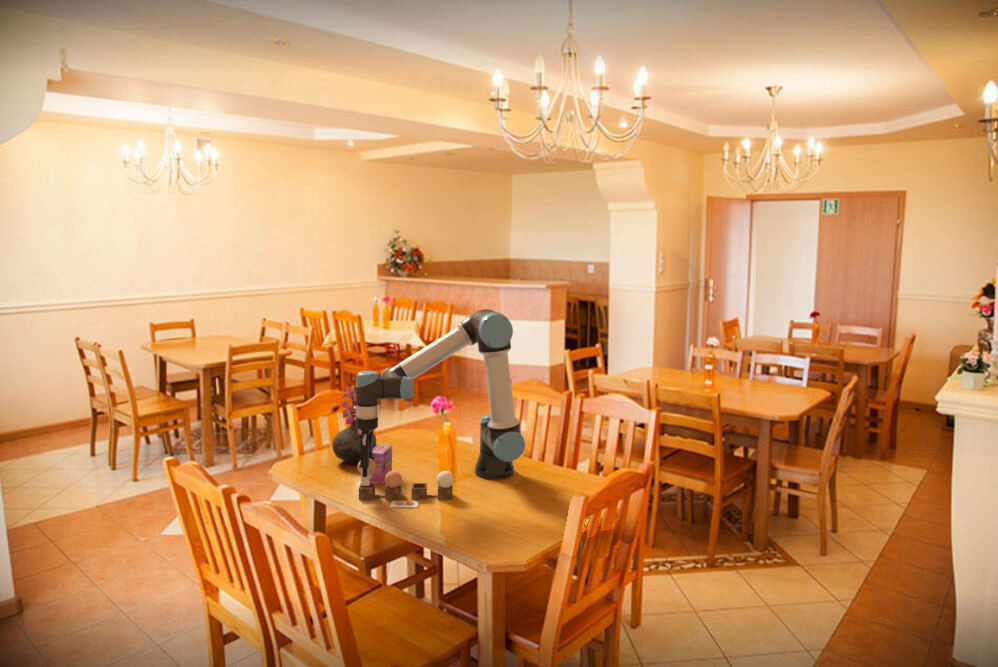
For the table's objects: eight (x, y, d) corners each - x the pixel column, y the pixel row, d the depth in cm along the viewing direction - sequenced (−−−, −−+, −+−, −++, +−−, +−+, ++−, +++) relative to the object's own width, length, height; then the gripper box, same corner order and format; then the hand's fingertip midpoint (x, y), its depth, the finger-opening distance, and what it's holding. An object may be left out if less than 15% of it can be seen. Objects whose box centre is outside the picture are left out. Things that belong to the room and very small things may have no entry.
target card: (418, 501, 224) (418, 500, 224) (417, 507, 219) (417, 506, 219) (391, 501, 223) (391, 500, 223) (390, 507, 219) (390, 506, 218)
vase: (356, 452, 274) (356, 381, 270) (386, 461, 264) (386, 388, 260) (324, 462, 261) (323, 388, 256) (354, 472, 251) (354, 395, 246)
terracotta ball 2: (402, 484, 231) (402, 468, 230) (401, 491, 225) (401, 474, 224) (385, 484, 230) (385, 468, 229) (383, 491, 224) (383, 474, 223)
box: (382, 484, 239) (382, 453, 237) (367, 483, 240) (367, 452, 238) (392, 475, 249) (392, 445, 247) (378, 473, 250) (378, 443, 248)
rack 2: (452, 494, 232) (452, 483, 231) (452, 499, 227) (452, 488, 226) (412, 494, 231) (412, 483, 230) (411, 499, 226) (411, 488, 225)
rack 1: (401, 493, 231) (401, 483, 230) (399, 499, 226) (399, 488, 225) (360, 493, 230) (360, 482, 229) (358, 499, 225) (358, 488, 224)
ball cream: (453, 484, 232) (454, 468, 231) (453, 491, 226) (454, 474, 225) (436, 484, 231) (437, 468, 230) (436, 491, 225) (436, 474, 225)
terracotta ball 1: (376, 471, 229) (376, 455, 228) (374, 478, 223) (374, 461, 223) (359, 471, 229) (359, 455, 228) (356, 477, 223) (356, 460, 222)
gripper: (360, 409, 232) (359, 471, 236) (351, 424, 214) (351, 491, 217) (381, 409, 233) (380, 472, 236) (374, 424, 214) (374, 492, 217)
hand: (366, 481), depth 227 cm, fingers closed on terracotta ball 1, 6 cm apart
